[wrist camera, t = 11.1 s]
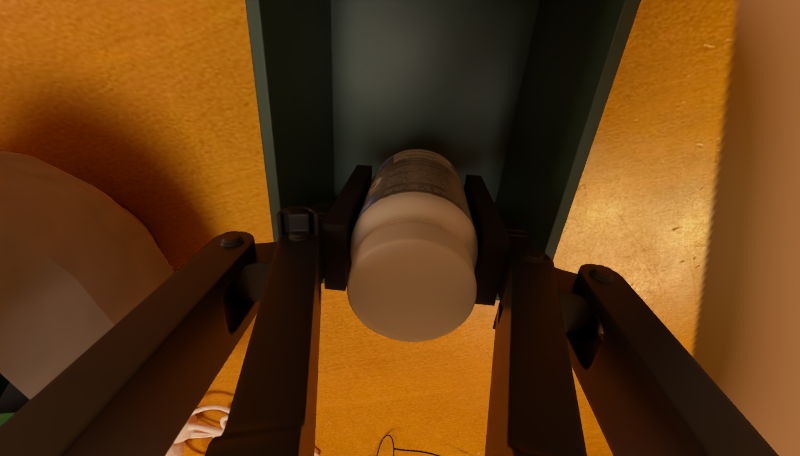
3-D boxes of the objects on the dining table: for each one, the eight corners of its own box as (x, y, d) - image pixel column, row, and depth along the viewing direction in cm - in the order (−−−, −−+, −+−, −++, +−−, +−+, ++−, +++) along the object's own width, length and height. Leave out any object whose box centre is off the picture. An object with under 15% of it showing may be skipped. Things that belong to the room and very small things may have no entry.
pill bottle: (368, 147, 17) (323, 225, 9) (465, 146, 16) (499, 226, 9) (374, 232, 19) (341, 350, 11) (459, 233, 19) (482, 354, 11)
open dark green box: (323, -45, 19) (228, -135, 10) (552, -27, 19) (676, -104, 10) (329, 198, 26) (278, 279, 17) (497, 214, 26) (538, 304, 17)
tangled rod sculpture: (342, 427, 42) (336, 461, 38) (298, 488, 47) (289, 524, 43) (185, 370, 38) (161, 403, 34) (155, 443, 43) (132, 479, 39)
